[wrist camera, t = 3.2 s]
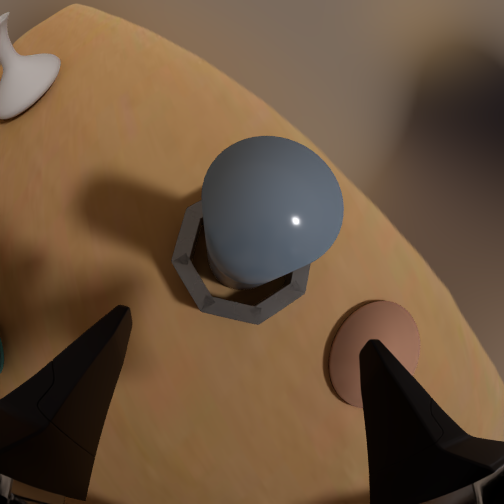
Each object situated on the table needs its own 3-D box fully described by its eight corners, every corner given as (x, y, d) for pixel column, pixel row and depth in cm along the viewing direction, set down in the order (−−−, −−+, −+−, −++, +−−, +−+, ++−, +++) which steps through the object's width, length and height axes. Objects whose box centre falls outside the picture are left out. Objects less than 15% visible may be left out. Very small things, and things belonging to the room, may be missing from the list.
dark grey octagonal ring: (222, 342, 20) (223, 346, 18) (157, 234, 21) (152, 227, 19) (324, 275, 22) (334, 272, 20) (260, 178, 23) (264, 167, 21)
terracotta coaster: (358, 426, 20) (360, 428, 19) (307, 347, 21) (309, 347, 20) (428, 359, 22) (431, 359, 22) (390, 279, 23) (393, 279, 22)
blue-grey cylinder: (231, 303, 21) (253, 300, 9) (195, 244, 21) (175, 171, 10) (288, 267, 22) (367, 224, 10) (252, 211, 22) (291, 120, 11)
